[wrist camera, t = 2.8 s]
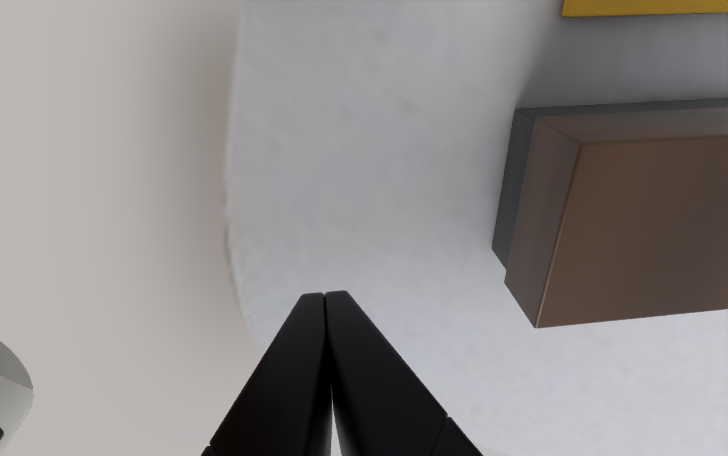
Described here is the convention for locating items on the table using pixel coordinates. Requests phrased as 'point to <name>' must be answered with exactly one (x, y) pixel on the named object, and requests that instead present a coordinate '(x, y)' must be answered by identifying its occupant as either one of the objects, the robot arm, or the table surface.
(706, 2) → the cloth
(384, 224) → the table surface
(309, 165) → the table surface
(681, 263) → the brown rectangular block
